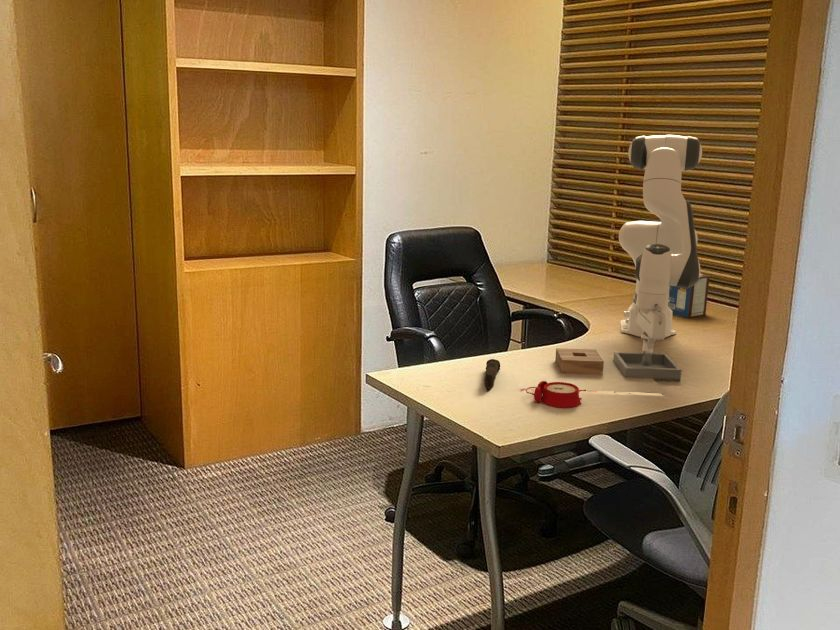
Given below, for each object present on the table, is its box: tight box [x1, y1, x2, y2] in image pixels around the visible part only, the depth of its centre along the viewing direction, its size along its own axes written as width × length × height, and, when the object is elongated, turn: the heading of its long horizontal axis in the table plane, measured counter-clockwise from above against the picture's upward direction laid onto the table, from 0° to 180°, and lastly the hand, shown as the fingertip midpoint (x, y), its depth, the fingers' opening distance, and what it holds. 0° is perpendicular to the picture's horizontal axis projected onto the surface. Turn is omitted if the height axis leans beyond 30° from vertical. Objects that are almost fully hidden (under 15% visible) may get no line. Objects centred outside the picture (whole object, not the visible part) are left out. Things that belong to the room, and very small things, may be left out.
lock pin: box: [640, 333, 654, 366], centre depth 243 cm, size 4×4×9 cm
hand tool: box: [484, 358, 501, 392], centre depth 233 cm, size 19×4×5 cm, turn 168°
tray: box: [612, 351, 683, 382], centre depth 244 cm, size 16×16×4 cm
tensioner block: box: [555, 347, 605, 375], centre depth 244 cm, size 12×12×5 cm
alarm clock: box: [525, 380, 587, 409], centre depth 219 cm, size 10×6×15 cm
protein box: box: [668, 273, 711, 319], centre depth 317 cm, size 10×15×16 cm
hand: (648, 346), depth 243 cm, fingers closed on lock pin, 3 cm apart
